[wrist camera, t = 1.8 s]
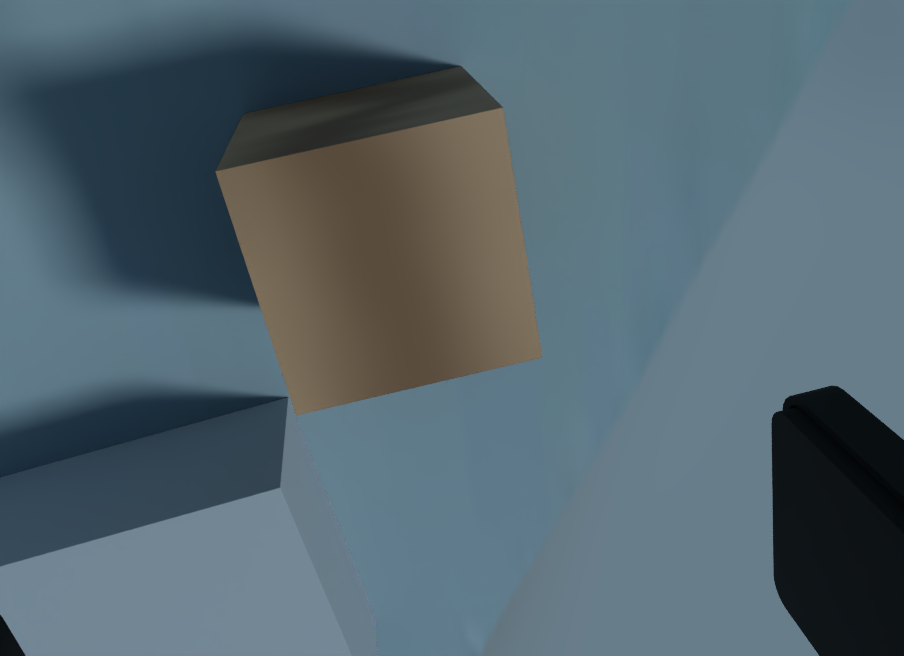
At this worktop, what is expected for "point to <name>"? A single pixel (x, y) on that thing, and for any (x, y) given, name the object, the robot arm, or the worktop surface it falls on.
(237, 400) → the worktop surface
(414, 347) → the walnut cube
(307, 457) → the base block
